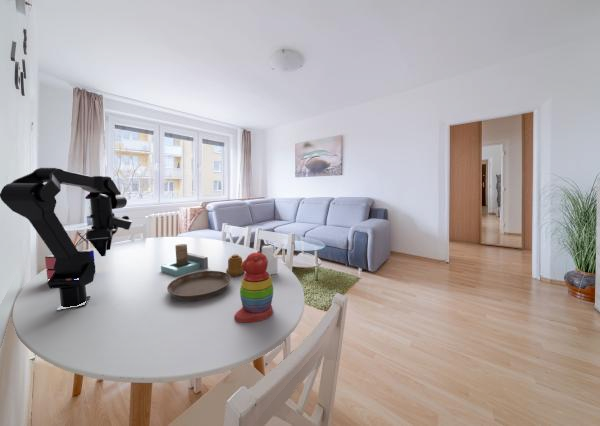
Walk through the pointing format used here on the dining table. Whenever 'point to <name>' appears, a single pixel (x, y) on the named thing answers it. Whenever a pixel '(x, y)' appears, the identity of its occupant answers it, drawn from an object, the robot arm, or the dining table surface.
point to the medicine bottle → (269, 258)
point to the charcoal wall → (199, 260)
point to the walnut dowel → (181, 255)
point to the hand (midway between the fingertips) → (106, 252)
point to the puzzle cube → (51, 260)
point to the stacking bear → (255, 290)
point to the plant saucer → (199, 285)
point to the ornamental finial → (235, 266)
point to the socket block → (180, 268)
